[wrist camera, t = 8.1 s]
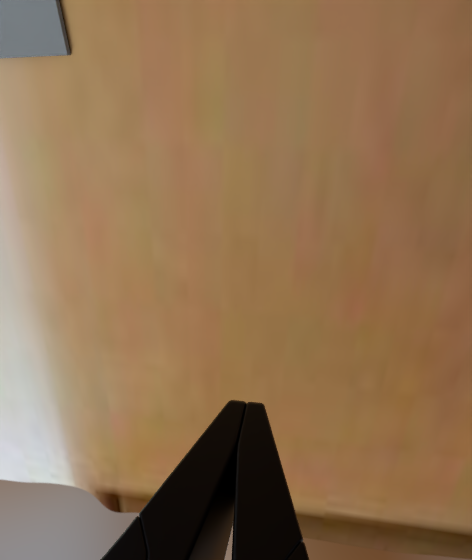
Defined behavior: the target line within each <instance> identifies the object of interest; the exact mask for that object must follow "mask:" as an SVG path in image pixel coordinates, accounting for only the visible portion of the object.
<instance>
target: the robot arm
mask: <svg viewBox="0 0 472 560" xmlns="http://www.w3.org/2000/svg"><path fill="white" fill-rule="evenodd" d="M232 525H233V544H232V560H309V557H308V554H307V550H306V547H305V544H304V542H303V537H302V534H301V530H300V527H299V523H298V520H297V516H296V513H295V510H294V506H293V503H292V499H291V496H290V492H289V489H288V485H287V482H286V479H285V475H284V472H283V468H282V465H281V461H280V458H279V454H278V451H277V447H276V444H275V441H274V437H273V434H272V430H271V427H270V423H269V420H268V416H267V413H266V410H265V406H264V404H262V403H256V402H248V403H247V404H246V402H244V401H236V400H231V401H229V402H228V403H227V404H226V405H225V407H224V408H223V409H222V410H221V412H220V413H219V414H218V415H217V417H216V418H215V419H214V420H213V422H212V423H211V424H210V425H209V427H208V428H207V429H206V430H205V432H204V433H203V434H202V435H201V437H200V438H199V439H198V440H197V442H196V443H195V444H194V445H193V447H192V448H191V449H190V450H189V452H188V453H187V454H186V455H185V457H184V458H183V459H182V460H181V462H180V463H179V464H178V466H177V467H176V468H175V469H174V471H173V472H172V473H171V474H170V476H169V477H168V478H167V479H166V481H165V482H164V483H163V484H162V486H161V487H160V488H159V489H158V491H157V492H156V493H155V494H154V496H153V497H152V498H151V499H150V501H149V502H148V503H147V504H146V506H145V507H144V508H143V509H142V511H141V512H140V513H139V517H138V516H137V517H136V518H135V519H134V520H133V522H132V523H131V524H130V526H129V527H128V528H127V529H126V530H125V532H124V533H123V534H122V535H121V537H120V538H119V539H118V540H117V541H116V542H115V544H114V545H113V546H112V547H111V548H110V549H109V551H108V552H107V553H106V554H105V555H104V556H103V557H102V559H101V560H224V558H225V554H226V550H227V546H228V542H229V537H230V534H231V529H232Z"/></svg>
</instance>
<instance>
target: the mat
mask: <svg viewBox="0 0 472 560" xmlns="http://www.w3.org/2000/svg"><path fill="white" fill-rule="evenodd" d="M58 55H71V54H70V49H69V44H68V40H67V35H66V30H65V26H64V21H63V16H62V12H61V7H60V2H59V0H0V58H15V57H37V56H58Z"/></svg>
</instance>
